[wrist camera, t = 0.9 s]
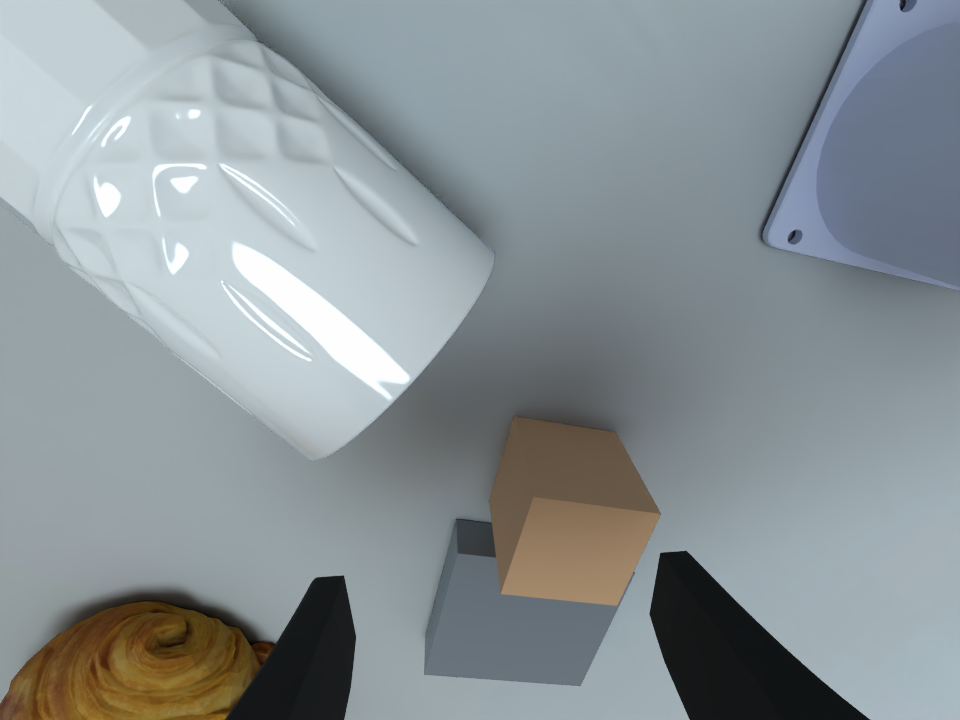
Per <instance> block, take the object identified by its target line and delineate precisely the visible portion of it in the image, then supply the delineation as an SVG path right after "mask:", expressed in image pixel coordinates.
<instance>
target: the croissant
mask: <svg viewBox="0 0 960 720" xmlns="http://www.w3.org/2000/svg"><path fill="white" fill-rule="evenodd" d="M274 646H275V644H270V643H268V642H258V643H255V644H253V645H252V646H250V644H249V643H248V641H247V640H246V638H245V637H244V635H243V633H242V632H241V630H240V629H239V628H236V627H231V626H226V625H224V624H223V623H222V622H221V621H220V620H219V619H215V618H211V617H207V616H205V615H203V614H201V613H199V612H197V611H194V610H187V609H183V608H180V607H176V606H173V605H170V604H167V603H164V602H152V601H144V602H137V603H130V604H125V605H121V606H117V607H113V608H109V609H105V610H102V611H100V612H99V613H97V614H95V615H94V616H92V617H90V618H88V619H85V620H83V621H81V622H79V623H76V624H75V625H74V626H72V627H71V628H69V629H68V630H66V631H64V632H62V633H60V634H58V635H57V636H56V637H55V638H54V639H52V640H51V641H50V642H49V643H48V644H46V645H45V646H44V647H43V648H42V649H41V650H40V651H39V652H37V653H36V654H35V655H34V656H33V657H32V658H31V659H30V660H29V661H27V662H26V664H25V665H24V666H23V667H22V669H21V670H20V671H19V672H18V673H17V675H16V676H15V677H14V678H13V680H12V681H11V684H10V688H9V691H8V693H7V694H6V696H5V697H4V699H3V700H2V702H1V703H0V720H225V718H226V717H227V716H228V714H229V713H230V711H231V710H232V708H233V707H234V706H235V704H236V703H237V701H238V700H239V699H240V697H241V696H242V694H243V693H244V691H245V690H246V689H247V687H248V686H249V684H250V683H251V681H252V680H253V678H254V677H255V675H256V674H257V672H258V671H259V669H260V668H261V666H262V665H263V663H264V661H265V660H266V658H267V657H268V655H269V654H270V652H271V651H272V649H273V647H274Z"/></svg>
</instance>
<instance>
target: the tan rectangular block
mask: <svg viewBox="0 0 960 720" xmlns="http://www.w3.org/2000/svg"><path fill="white" fill-rule="evenodd" d="M489 503H490V511H491V520H492V528H493V536H494V544H495V552H496V560H497V568H498V576H499V584H500V592H501V594H505V595H515V596H525V597H534V598H544V599H554V600H564V601H574V602H584V603H593V604H603V605H613V606H617V605H618V603H619V601H620V599H621V597H622V595H623V593H624V591H625V588H626V586H627V584H628V582H629V580H630V578H631V576H632V574H633V572H634V570H635V568H636V566H637V563H638V561H639V559H640V557H641V555H642V553H643V551H644V549H645V547H646V545H647V543H648V540H649V538H650V536H651V534H652V532H653V530H654V528H655V526H656V524H657V522H658V520H659V518H660V515H661V513H660V511H659V509H658V507H657V506H656V504H655V502H654V500H653V498H652V497H651V495H650V493H649V491H648V489H647V488H646V486H645V484H644V482H643V480H642V479H641V477H640V475H639V473H638V472H637V470H636V468H635V466H634V464H633V463H632V461H631V459H630V457H629V455H628V454H627V452H626V450H625V448H624V446H623V445H622V443H621V441H620V439H619V437H618V436H617V434H616V432H611V431H604V430H598V429H592V428H585V427H579V426H573V425H566V424H560V423H554V422H548V421H541V420H535V419H529V418H522V417H516V416H514V418H513V421H512V425H511V428H510V431H509V435H508V438H507V442H506V445H505V448H504V452H503V455H502V459H501V462H500V465H499V469H498V472H497V476H496V479H495V482H494V486H493V489H492V493H491V496H490V499H489Z"/></svg>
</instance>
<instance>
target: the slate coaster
mask: <svg viewBox="0 0 960 720" xmlns="http://www.w3.org/2000/svg"><path fill="white" fill-rule="evenodd" d="M634 574H635V573H634V572H633V574H632V576H631V578H630V580H629V582H628V584H627V586H626V588H625V591H624V593H623V595H622V597H621V599H620V601H619V603H618V605H617V606H613V605H603V604H593V603H584V602H574V601H564V600H554V599H544V598H534V597H525V596H515V595H505V594H501V592H500V584H499V576H498V568H497V560H496V552H495V544H494V536H493V528H492V524H491V523H483V522H475V521H467V520H458V519H456V522H455V526H454V530H453V534H452V537H451V541H450V545H449V549H448V552H447V556H446V560H445V564H444V568H443V571H442V575H441V579H440V583H439V587H438V590H437V594H436V598H435V602H434V606H433V609H432V613H431V617H430V621H429V624H428V628H427V632H426V636H425V664H424V675H436V676H450V677H464V678H477V679H491V680H504V681H518V682H532V683H545V684H559V685H572V686H581V684H582V682H583V680H584V678H585V676H586V673H587V671H588V669H589V667H590V665H591V663H592V661H593V659H594V657H595V655H596V653H597V651H598V649H599V646H600V644H601V642H602V640H603V638H604V636H605V634H606V632H607V630H608V628H609V626H610V624H611V622H612V619H613V617H614V615H615V613H616V611H617V609H618V607H619V605H620V603H621V601H622V599H623V597H624V595H625V593H626V590H627V588H628V586H629V584H630V582H631V580H632V578H633V576H634Z"/></svg>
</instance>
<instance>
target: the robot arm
mask: <svg viewBox="0 0 960 720" xmlns="http://www.w3.org/2000/svg"><path fill="white" fill-rule="evenodd" d="M899 3H900V0H867V2H866V5H865V7H864V9H863V11H862V13H861V16H860V18H859V20H858V22H857V25H856V27H855V29H854V31H853V33H852V36H851V38H850V40H849V42H848V44H847V47H846V49H845V51H844V53H843V56H842V58H841V60H840V62H839V64H838V67H837V69H836V71H835V73H834V75H833V78H832V80H831V82H830V84H829V87H828V89H827V91H826V93H825V95H824V98H823V100H822V102H821V104H820V106H819V109H818V111H817V113H816V115H815V117H814V120H813V122H812V124H811V126H810V129H809V131H808V133H807V135H806V137H805V140H804V142H803V144H802V146H801V148H800V151H799V153H798V155H797V157H796V160H795V162H794V164H793V166H792V168H791V171H790V173H789V175H788V177H787V179H786V182H785V184H784V186H783V188H782V190H781V193H780V195H779V197H778V199H777V202H776V204H775V206H774V208H773V210H772V213H771V215H770V217H769V219H768V221H767V224H766V226H765V228H764V231H763V240H764V242H765V243H766V244H767V245H769V246H772V247H774V248H778V249H782V250H787V251H791V252H795V253H800V254H804V255H808V256H812V257H817V258H821V259H825V260H830V261H834V262H838V263H843V264H847V265H851V266H856V267H860V268H864V269H869V270H873V271H877V272H882V273H886V274H890V275H895V276H899V277H903V278H908V279H912V280H916V281H921V282H925V283H929V284H934V285H938V286H942V287H946V288H951V289H955V290H959V291H960V0H906V4H905V7H904V9H903V10H902V11H901V10H900V7H899ZM793 230H795V232H796V233H795V237H794V238H793V239H792V240H791V241H789V242H788V240H787V239H788V235H789V234H790V233H791V232H792V231H793ZM650 617H651V620H652V623H653V627H654V630H655V633H656V637H657V640H658V643H659V646H660V649H661V652H662V655H663V658H664V661H665V664H666V666H667V668H668V671H669V673H670V675H671V678H672V680H673V682H674V685H675V687H676V689H677V692H678V694H679V696H680V699H681V701H682V703H683V705H684V708H685V710H686V712H687V714H688V717H689V719H690V720H870V719H868V718H867V717H866V716H865V715H863V714H862V713H861V712H860V711H858V710H857V709H856V708H854V707H853V706H852V705H851V704H849V703H848V702H847V701H846V700H844V699H843V698H842V697H841V696H839V695H838V694H837V693H836V692H835V691H833V690H832V689H831V688H830V687H829V686H828V685H826V684H825V683H824V682H823V681H822V680H820V679H819V678H818V677H817V676H816V675H815V674H814V673H812V672H811V671H810V670H809V669H808V668H807V667H806V666H805V665H803V664H802V663H801V662H800V661H799V660H798V659H797V658H795V657H794V656H793V655H792V654H791V653H790V652H789V651H788V650H787V649H786V648H784V647H783V646H782V645H781V644H780V643H779V642H778V641H777V640H776V639H775V638H774V637H773V636H772V635H771V634H770V633H768V632H767V631H766V630H765V629H764V628H763V627H762V626H761V625H760V624H759V623H758V622H757V621H756V620H755V619H754V618H753V617H752V616H751V615H750V614H749V613H748V612H747V611H746V610H745V609H744V608H742V607H741V606H740V605H739V604H738V603H737V602H736V601H735V600H734V599H733V598H732V597H731V596H730V595H729V594H728V593H727V592H726V591H725V589H724V588H723V587H722V586H721V585H720V584H719V583H718V582H717V581H716V580H715V579H714V578H713V577H712V576H711V575H710V574H709V573H708V572H707V571H706V570H705V569H704V568H703V567H702V566H701V565H700V564H699V563H698V562H697V561H696V560H695V559H694V558H693V557H692V556H691V555H690V554H689V553H688V552H687V551H679V552H665V553H660V558H659V564H658V569H657V575H656V581H655V586H654V592H653V598H652V603H651V609H650ZM355 642H356V634H355V629H354V624H353V619H352V614H351V609H350V604H349V599H348V594H347V589H346V584H345V579H344V576H331V577H317V578H315V579H314V580H313V581H312V583H311V584H310V586H309V588H308V590H307V592H306V594H305V595H304V597H303V599H302V601H301V603H300V604H299V606H298V608H297V610H296V611H295V613H294V615H293V616H292V618H291V620H290V621H289V623H288V625H287V626H286V628H285V630H284V631H283V633H282V635H281V636H280V638H279V640H278V641H277V643H276V644H275V646H274V647H273V649H272V651H271V652H270V654H269V655H268V657H267V658H266V660H265V661H264V663H263V665H262V666H261V668H260V669H259V671H258V672H257V674H256V675H255V677H254V678H253V680H252V681H251V683H250V684H249V686H248V687H247V689H246V690H245V691H244V693H243V694H242V696H241V697H240V699H239V700H238V701H237V703H236V704H235V706H234V707H233V708H232V710H231V711H230V713H229V714H228V716H227V717H226V718H225V720H344V717H345V713H346V708H347V703H348V698H349V693H350V688H351V680H352V671H353V662H354V652H355Z"/></svg>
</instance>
